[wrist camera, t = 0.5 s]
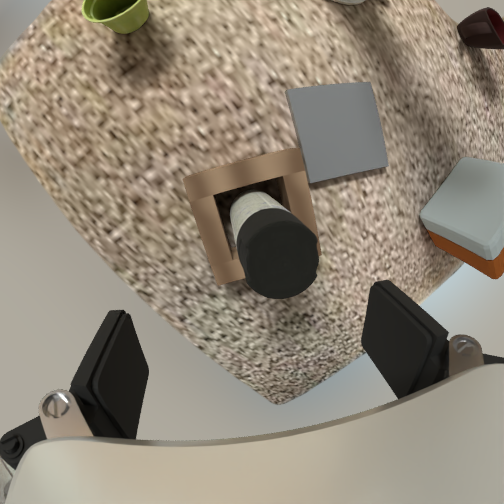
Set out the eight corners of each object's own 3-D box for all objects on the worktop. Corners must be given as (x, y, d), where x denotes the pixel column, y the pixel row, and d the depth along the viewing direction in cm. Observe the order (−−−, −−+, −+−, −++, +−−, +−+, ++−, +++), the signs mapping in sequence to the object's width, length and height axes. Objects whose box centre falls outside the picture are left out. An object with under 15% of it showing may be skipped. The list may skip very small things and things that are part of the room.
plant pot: (104, 52, 28) (82, 33, 20) (101, 11, 24) (81, -11, 16) (162, 30, 28) (151, 4, 20) (155, -10, 25) (145, -37, 17)
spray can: (230, 234, 40) (243, 306, 22) (227, 189, 38) (238, 223, 19) (275, 231, 41) (322, 297, 22) (274, 186, 39) (327, 218, 20)
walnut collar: (289, 148, 37) (299, 147, 32) (310, 243, 42) (321, 255, 38) (187, 176, 37) (182, 179, 32) (217, 271, 42) (217, 285, 37)
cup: (482, 53, 31) (516, 48, 20) (457, 56, 32) (496, 49, 21) (464, 18, 28) (497, 9, 17) (436, 17, 29) (473, 3, 17)
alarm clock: (432, 245, 46) (506, 290, 27) (415, 215, 43) (500, 254, 24) (475, 186, 43) (547, 210, 24) (461, 154, 40) (541, 170, 21)
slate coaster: (366, 83, 34) (370, 82, 33) (384, 165, 39) (388, 166, 38) (284, 91, 34) (286, 89, 33) (307, 182, 39) (310, 183, 38)
